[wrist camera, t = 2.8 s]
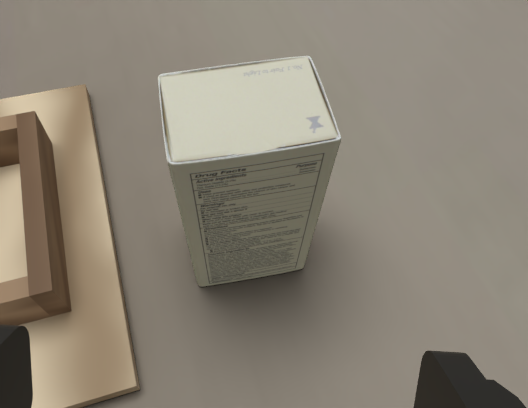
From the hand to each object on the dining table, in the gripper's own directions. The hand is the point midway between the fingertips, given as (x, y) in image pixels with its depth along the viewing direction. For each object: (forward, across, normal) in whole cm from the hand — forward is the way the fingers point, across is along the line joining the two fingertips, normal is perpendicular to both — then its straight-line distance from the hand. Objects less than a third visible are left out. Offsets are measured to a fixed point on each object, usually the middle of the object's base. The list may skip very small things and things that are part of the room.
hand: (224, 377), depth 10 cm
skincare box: (+18, 0, +4) cm, 18 cm away
